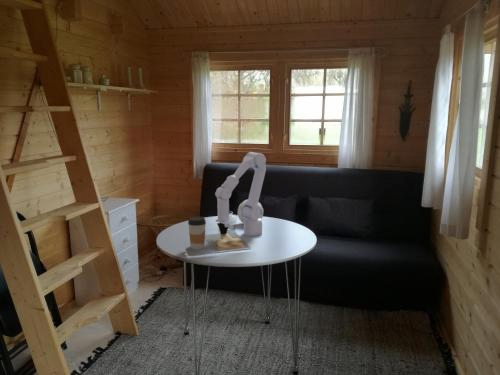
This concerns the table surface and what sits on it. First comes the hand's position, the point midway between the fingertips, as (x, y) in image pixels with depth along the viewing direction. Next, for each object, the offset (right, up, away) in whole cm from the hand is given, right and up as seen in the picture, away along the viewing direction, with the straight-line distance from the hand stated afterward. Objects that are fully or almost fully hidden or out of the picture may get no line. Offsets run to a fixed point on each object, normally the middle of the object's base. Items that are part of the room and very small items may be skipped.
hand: (223, 237), depth 203 cm
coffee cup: (-12, -4, -12) cm, 17 cm away
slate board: (+1, -3, -3) cm, 4 cm away
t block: (+2, -2, -6) cm, 7 cm away
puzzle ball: (+14, +3, +30) cm, 33 cm away
